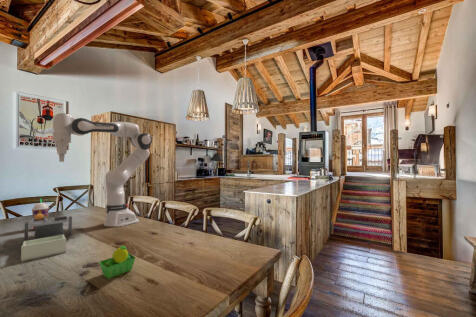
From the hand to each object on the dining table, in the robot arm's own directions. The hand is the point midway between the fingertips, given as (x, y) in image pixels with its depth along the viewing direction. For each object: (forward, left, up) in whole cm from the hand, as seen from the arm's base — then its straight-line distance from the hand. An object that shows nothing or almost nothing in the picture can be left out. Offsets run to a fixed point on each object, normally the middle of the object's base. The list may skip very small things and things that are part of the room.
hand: (61, 161), depth 133 cm
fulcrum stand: (+5, +6, -45) cm, 45 cm away
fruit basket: (-15, +75, -45) cm, 89 cm away
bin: (+7, +29, -45) cm, 54 cm away
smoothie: (+9, -22, -45) cm, 51 cm away
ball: (+10, -6, -34) cm, 35 cm away
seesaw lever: (+5, +6, -35) cm, 36 cm away
